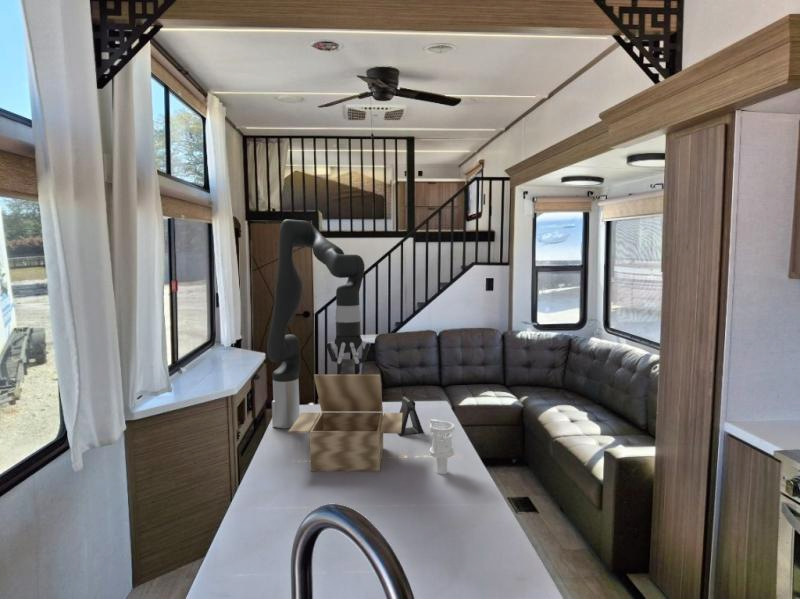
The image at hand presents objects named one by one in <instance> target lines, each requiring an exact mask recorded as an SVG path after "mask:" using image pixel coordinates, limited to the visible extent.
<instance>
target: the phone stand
mask: <svg viewBox="0 0 800 599" xmlns="http://www.w3.org/2000/svg"><path fill="white" fill-rule="evenodd" d="M398 413H403V415H402V428H401V433H396V434H397V435H398V436H399V437H402V436H404V435H405V436H410V435H419V434H424V430H423V426H422V424H421V421H420V419H419V415H418V413H417V410H416V402H415V401H414V400H412V398H410V397H409V396H407V395H406V396H403V397H402V398H401V406H400V410H399V412H398ZM409 418H410V421H411V425H412V427H407V423H408V419H409Z"/></svg>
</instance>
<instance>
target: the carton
mask: <svg viewBox="0 0 800 599" xmlns="http://www.w3.org/2000/svg"><path fill="white" fill-rule="evenodd" d="M299 415H300V416H299V417H298V418H297V420H296V421H295V423H294V424H293V426H292V427H291V428H289V429H288V434H309V445H310V446H309V448H310V449H309V450H310V451H309V452H310V453H309V454H310V456H309V457H310V458H309V459H310V472H359V471H367V472H369V471H371V473H372V472H377V473H379V472H380V471H381V465H382V460H383V459H382V458H383V454H384V453H383V452H384V434H397V433H401V428H402V415H403V413H399V412H322V411H321V412H300V413H299ZM381 459H382V460H381ZM367 472H366V473H367ZM369 473H370V472H369Z"/></svg>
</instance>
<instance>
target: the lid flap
mask: <svg viewBox="0 0 800 599" xmlns="http://www.w3.org/2000/svg"><path fill="white" fill-rule="evenodd" d="M313 378H314V384H315V387H316V392H317V396H318V401H319V402H318V403H319V406H320V410H321V412H383V411H384V408H383V396H382V383H381V382H382V380H381V373H380V374H379V373H377V374H372V373H370V374H368V373H367V374H366V373H365V374H363V373H362V374H360V373H359V374H355V359H354V358H353V359H352V358H348V359H347V358H345V359H344V358H343V359H342V367H341V374H338V373H337V374H329V373H326V374H325V373H324V374H323V373H322V374H318V373H317V374H313ZM383 413H384V412H383Z"/></svg>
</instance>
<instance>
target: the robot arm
mask: <svg viewBox="0 0 800 599" xmlns="http://www.w3.org/2000/svg"><path fill="white" fill-rule="evenodd" d="M294 248H310V249H312V253H313V256H314V257H315V258H316V259H317V260H318V261H319V262H320V263H322V264H323V265H325V266H326V267H327V270H328V271H329V273H330V274H331V276H333V277H336V278H339V279H345V278H347V280H346V283H345V284H343V285H339V286H338V287H337V288H336V290H335V301H336V303H335V305H336V306H335V307H336V308H335V338H334V340H333V341H328V342H327V343H326V345H325V346H326V349H327V352H328V355H329V357H330V360H331V362H333V363H336V364H337V374H341V367H342V359H344V356H345V354H352V356H353V359H355V374H360V372H361V363H364V362H366V359H367V355H368V353H369V350H370V347H371V342H370V341H365V340H363V338H362V336H361V333H362V332H361V331H362V330H361V310H360V309H361V307H360V290H361V286H362V281H363V278H364V274H365V266H366V265H365V261H364V259H363V258H362V256H361V255H358V254H345V252H344V251H343V249H342V248H340V247H339V246H337V245H336V244H335V243H333V242H331V241H330V240H328V239H327V238H326V237H325V236H323V234H322V233H321V232H320V231H319V230H318V229H317V228H316V227H315V226H314V225H313V224H312V223H310V221H306V220H300V219H299V220H298V219H287V218H286V219H284V220H283V221H282V222H281V223H280V226H279V231H278V262H277V274H276V281H275V282H276V283H275V289H274V290H275V291H274V300H273V301H274V302H273V310H272V317H271V318H272V319H271V323H270V329H269V333H268V337H267V338H268V339H267V343H266V344H267V345H266V352H267V357H268V358H269V361H270V362H272V363H281V364H280V365H279V366H278V367H277V369H275V370H274V371H273V372H272V396H273V400H272V401H271V416H272V422H271V423H272V428H278V429H290V428H291V427H292V426H293V424H294V423H295V421H296V420H297V418H298V417H299V416H300V388H299V385H300V384H299V382H300V381H299V375H300V370H301V354H302V353H301V351H302V350H301V343H300V340H299V338H298V337H297V336H296V335H295V334H287V328H288V326H289V323H290V322H291V319H293V317H294V316H295V314H296V313H297V310H298V309H299V307H300V305H301V301H302V294H303V282H302V279H301V277H300V275H299V273H298V271H297V269H296V267H295V266H296V265H295V264H294V260H293V250H294ZM361 345H362V349H363V351H362V356H361V357H360V355H359V351H358V349H359V348H360V347H361ZM335 346H336V347H337V349H338V350H339V352H338V357H337V355H336V352H335V350H334V348H335Z"/></svg>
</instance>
